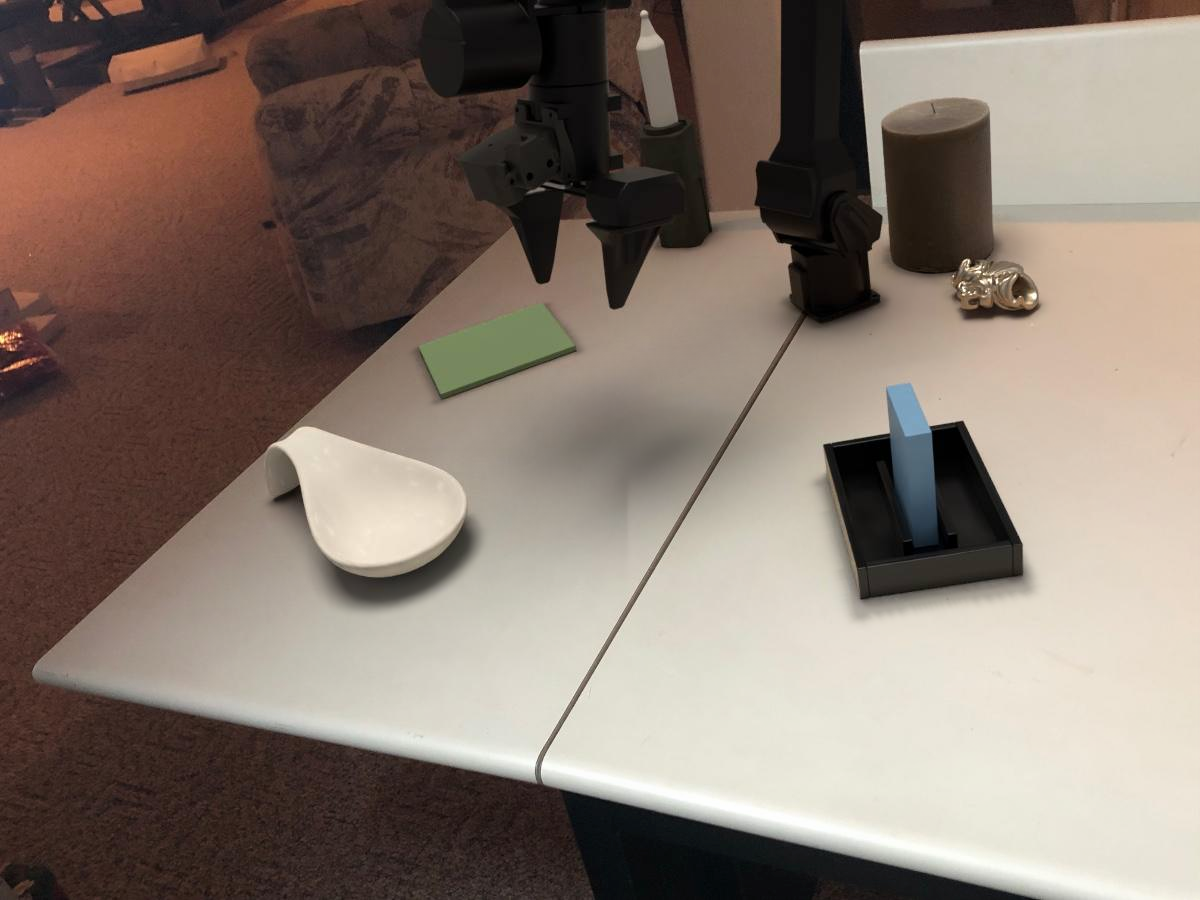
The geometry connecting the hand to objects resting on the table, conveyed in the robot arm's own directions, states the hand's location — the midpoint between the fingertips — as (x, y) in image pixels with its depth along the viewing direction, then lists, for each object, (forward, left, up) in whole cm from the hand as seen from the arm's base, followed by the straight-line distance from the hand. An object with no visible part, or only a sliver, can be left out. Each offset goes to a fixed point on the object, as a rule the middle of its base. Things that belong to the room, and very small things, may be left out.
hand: (578, 295), depth 83 cm
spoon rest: (+22, -2, -14) cm, 26 cm away
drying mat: (+5, -24, -14) cm, 29 cm away
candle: (-21, -35, -14) cm, 43 cm away
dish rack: (-14, +23, -14) cm, 30 cm away
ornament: (-36, 0, -14) cm, 39 cm away
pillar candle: (-39, -12, -14) cm, 43 cm away
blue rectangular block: (-14, +23, -13) cm, 30 cm away
